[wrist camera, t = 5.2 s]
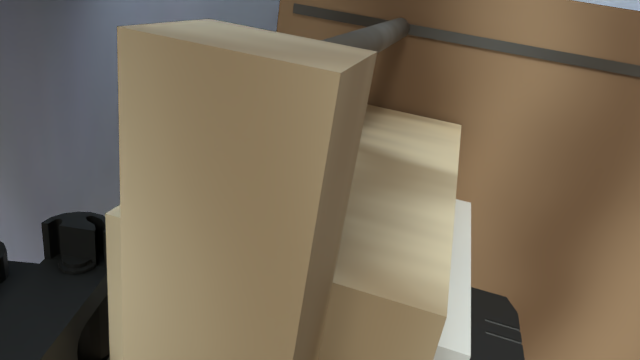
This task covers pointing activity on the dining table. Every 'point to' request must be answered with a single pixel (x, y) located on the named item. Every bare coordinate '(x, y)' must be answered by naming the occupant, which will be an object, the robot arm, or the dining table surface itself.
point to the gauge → (274, 200)
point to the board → (527, 149)
